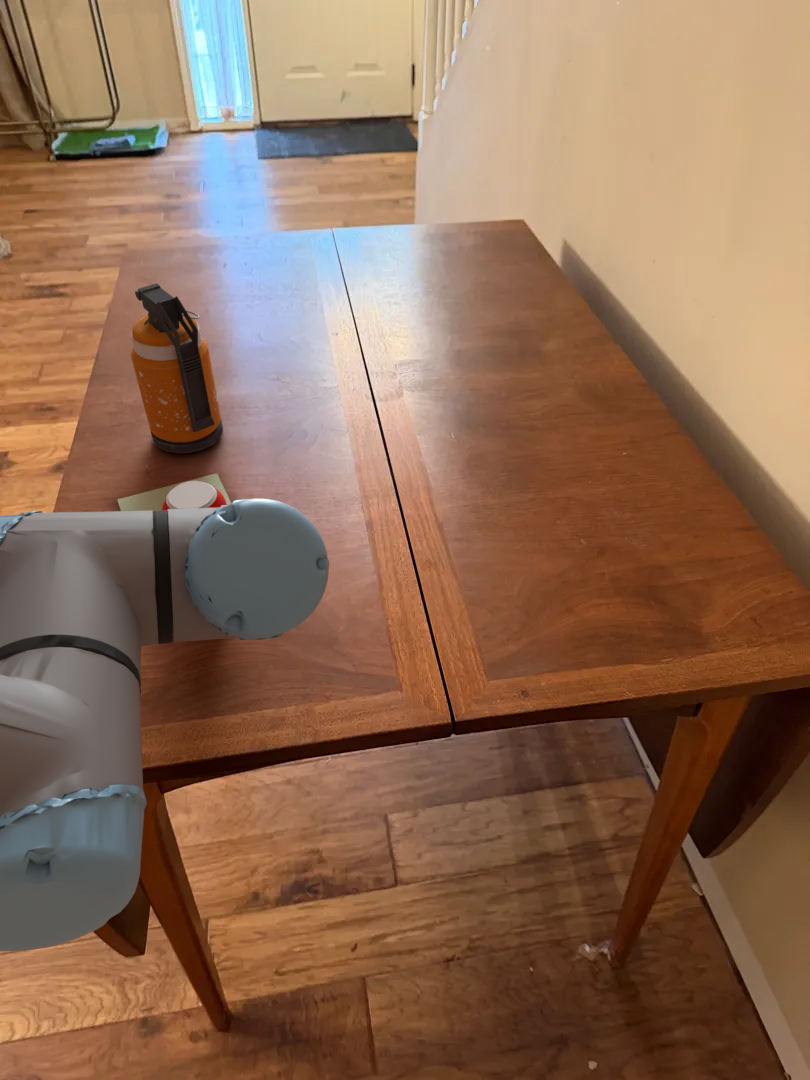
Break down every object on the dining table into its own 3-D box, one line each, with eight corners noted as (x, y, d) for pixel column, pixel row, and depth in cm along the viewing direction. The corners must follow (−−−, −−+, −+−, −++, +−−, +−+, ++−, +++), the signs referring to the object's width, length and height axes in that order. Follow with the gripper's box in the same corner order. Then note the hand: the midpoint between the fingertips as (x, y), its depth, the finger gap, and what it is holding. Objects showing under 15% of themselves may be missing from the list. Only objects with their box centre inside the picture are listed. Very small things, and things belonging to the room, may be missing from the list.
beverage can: (176, 604, 79) (151, 516, 71) (188, 562, 84) (166, 474, 76) (236, 605, 79) (217, 516, 71) (245, 562, 84) (229, 474, 76)
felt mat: (137, 564, 84) (137, 564, 84) (117, 499, 92) (117, 499, 92) (245, 533, 88) (245, 532, 88) (216, 473, 96) (216, 473, 95)
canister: (202, 409, 106) (174, 267, 92) (245, 447, 99) (221, 300, 86) (141, 433, 101) (102, 287, 88) (181, 474, 95) (146, 324, 82)
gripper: (160, 659, 52) (161, 643, 75) (341, 598, 56) (290, 601, 79) (126, 553, 52) (137, 569, 75) (310, 500, 56) (268, 530, 79)
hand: (216, 585), depth 77 cm, fingers closed
